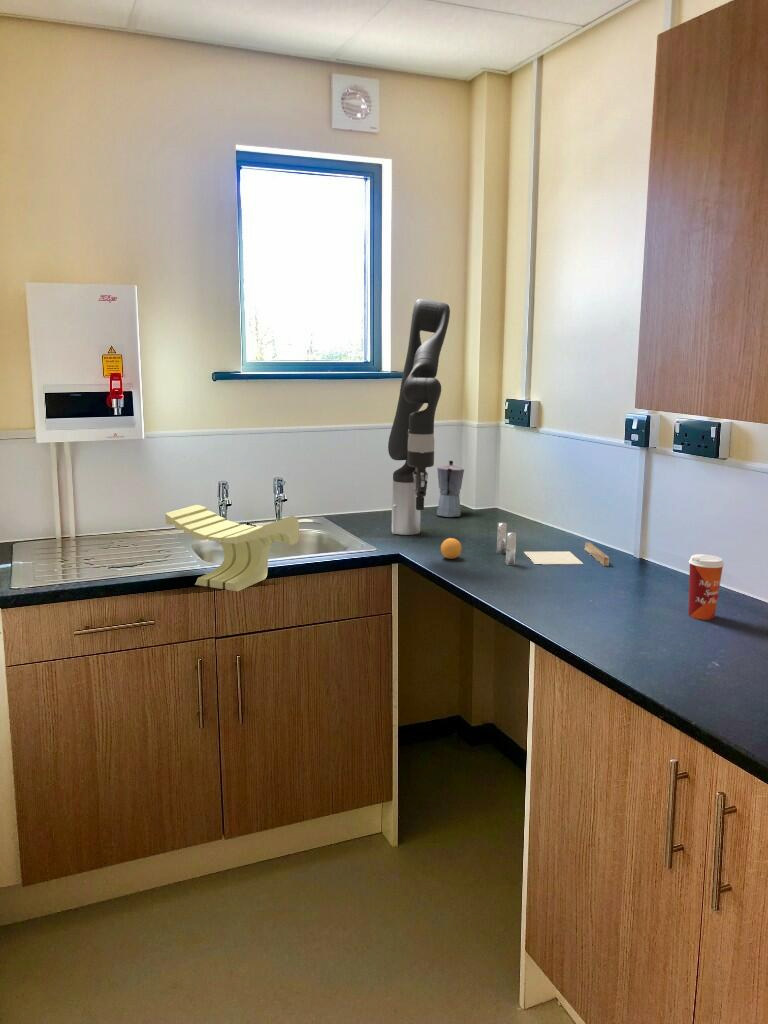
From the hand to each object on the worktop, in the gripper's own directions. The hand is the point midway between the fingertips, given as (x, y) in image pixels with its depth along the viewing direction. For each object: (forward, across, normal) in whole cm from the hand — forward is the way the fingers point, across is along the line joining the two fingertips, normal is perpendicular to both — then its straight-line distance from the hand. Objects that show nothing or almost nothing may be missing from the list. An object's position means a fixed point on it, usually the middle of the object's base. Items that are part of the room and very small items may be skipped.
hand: (419, 509), depth 238 cm
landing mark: (+15, 0, +39) cm, 42 cm away
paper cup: (+15, +53, +60) cm, 82 cm away
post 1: (+14, -6, +25) cm, 30 cm away
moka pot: (+15, -60, +18) cm, 64 cm away
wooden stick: (+15, 0, +52) cm, 54 cm away
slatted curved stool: (+15, +21, -51) cm, 57 cm away
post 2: (+14, +7, +25) cm, 30 cm away
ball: (+12, 0, +9) cm, 15 cm away
